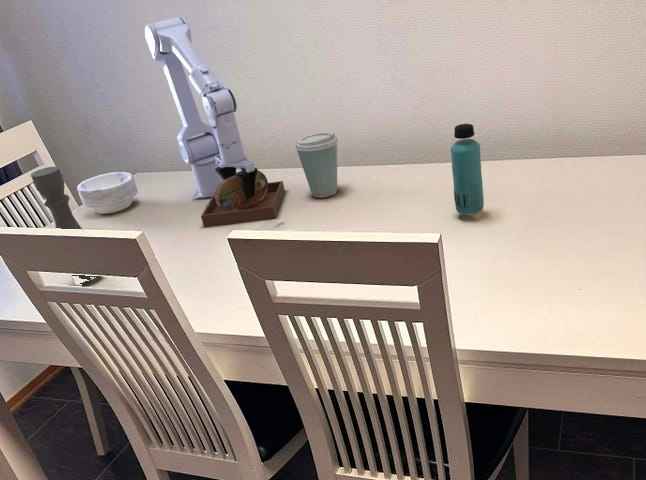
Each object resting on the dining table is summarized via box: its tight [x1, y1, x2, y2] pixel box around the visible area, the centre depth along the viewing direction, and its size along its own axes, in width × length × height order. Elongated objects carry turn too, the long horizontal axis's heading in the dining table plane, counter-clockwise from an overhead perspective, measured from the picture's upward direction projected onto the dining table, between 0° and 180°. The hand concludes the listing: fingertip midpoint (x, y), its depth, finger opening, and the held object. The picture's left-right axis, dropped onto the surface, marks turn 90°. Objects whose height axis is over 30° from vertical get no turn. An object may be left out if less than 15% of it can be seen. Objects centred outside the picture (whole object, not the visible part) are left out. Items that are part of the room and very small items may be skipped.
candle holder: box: [30, 166, 103, 287], centre depth 151 cm, size 6×6×25 cm
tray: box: [200, 180, 286, 228], centre depth 180 cm, size 18×18×3 cm
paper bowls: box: [76, 171, 139, 215], centre depth 195 cm, size 15×15×8 cm
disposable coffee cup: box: [295, 130, 339, 199], centre depth 178 cm, size 11×11×15 cm
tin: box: [215, 170, 269, 212], centre depth 179 cm, size 15×3×8 cm, turn 133°
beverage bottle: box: [450, 123, 485, 215], centre depth 151 cm, size 6×7×20 cm
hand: (242, 194), depth 179 cm, fingers open, 7 cm apart
